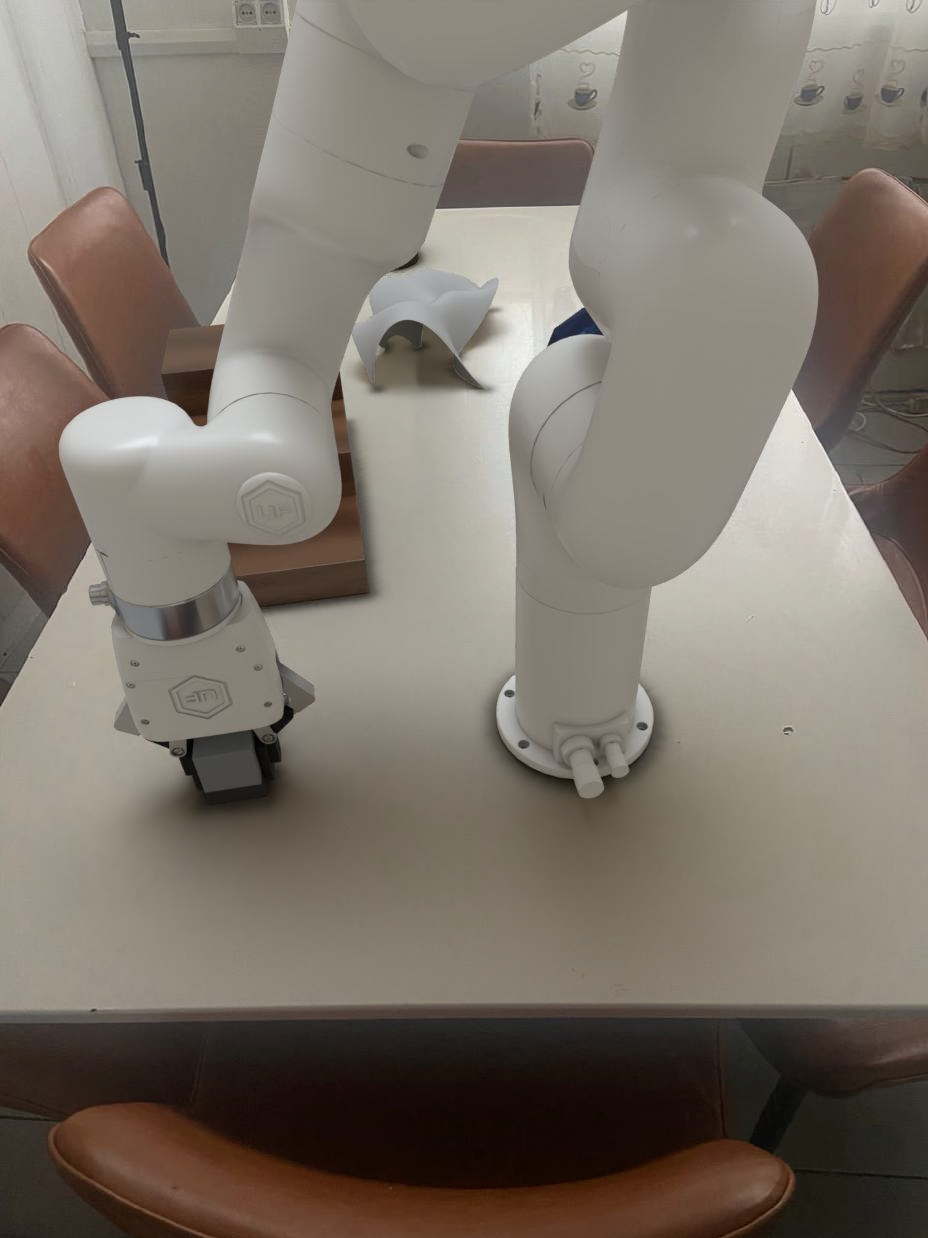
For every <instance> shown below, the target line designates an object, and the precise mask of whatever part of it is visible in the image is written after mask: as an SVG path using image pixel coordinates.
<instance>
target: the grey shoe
mask: <svg viewBox="0 0 928 1238" xmlns="http://www.w3.org/2000/svg"><path fill="white" fill-rule="evenodd" d="M192 760H193V762H194V765H195V767H196V770H197V773H198V775H199V778H200V781H201V783H202V786H203V789H204V790H203V794H204V797H205V800H206V803H207V805H208V806H210V805H211V806H212V805H218V804H223V803H229V802H230V803H231V802H237V801H243V800H249V799H250V800H251V799H256V798H264V797H267V796H268V795H267V783H268V782H267V781H268V780H267V778H266V779H265V778H264V775H263V773H262V770H261V766H260V763H259V760H258V756H257V753H256V749H255V732H254V731H253V729H251V730H245V731H239V732H232V733H226V734H219V735H212V736H205V737H198V738H194V743H193V755H192Z"/></svg>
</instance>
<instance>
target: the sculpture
mask: <svg viewBox="0 0 928 1238" xmlns="http://www.w3.org/2000/svg"><path fill="white" fill-rule="evenodd" d="M499 283H500V282H499V278H498V277H493V278H491V279H489V280H487V281H486V282H485V283H484V284H482V285H481V287H480V286H479V285H478V284H476V282H474V281H473V280H471V279H469V278H468V277H466V276H463V275H461V274H457V273H453V272H449V271H444V270H441V269H435V268H432V267H430V268H429V267H421V268H420V267H419V268H417V269H414V270H412V271H411V272H409V273H406V274H401V275H394V276H387V277H382V278H381V279H380V280H379V281H378V282H377V283H376V284H375V285H374V287H373V288H372V290H371V291H370V293H369V295H368V300H369V305H370V309H371V312H372V315H373V316H372V317H369V318H367V319H366V320H364V321H363V320H362V321H361V322H357V323H355V325H354V328H353V330H352V333H351V337H352V341H353V343H354V346H355V348H356V350H357V353H358V355H359V357H360V360H361V362H362V364H363V366H364V368H365V370H366V372H367V374H368V377H369V378H370V380H371V382H372V385H373V387H374V388H375V390H377V388H376V379H375V363H376V356H377V352H378V348H379V347H380V348H382V349H386V345H387V342H388V341H389V340H390V339H392V337H400V338H403V339H405V340H406V341H408V342H409V343H410V345H412V347H413V348H415V349H419V348H420V347H421V348H422V346H423V331H424V326H426V327H427V328H429V330H431V331H433V332H434V333H435V334H436V335H437V336H438V337H439V338H440V339H441V340H442V341H443V342H444V344H446V346H447V347H448V348H449V349H450V351H451V352H452V353H453V363H454V370H455V372H456V373H457V374H458V375H459V376H460V377H461V378H462V379H464V380H465V381H467V382H469V383H470V384H473V385H475V386H476V387H479V388H481V389H484V390H485V388H484V387H483V385H481V384H480V383H479V382H478V381H477V380H476V378H475V377H474V376H473V375H472V373H471V372H470V371H469V370H468V368H467V366H466V365H465V363H464V362H463V360H462V359H461V357H460V353H461V351H462V350H463V349H464V347H465V346H466V345H467V344H468V343H469V341H470V340H471V338H472V337H473V335H474V334H475V333H476V332H477V330H478V328H479V326H480V325H481V323H482V322H483V320H484V318H485V316H486V314H487V313H488V311H489V310H490V307H491V306H492V305H493V300H494V299H495V296H496V294H497V291H498V287H499ZM492 308H493V310H494V307H492Z"/></svg>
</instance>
